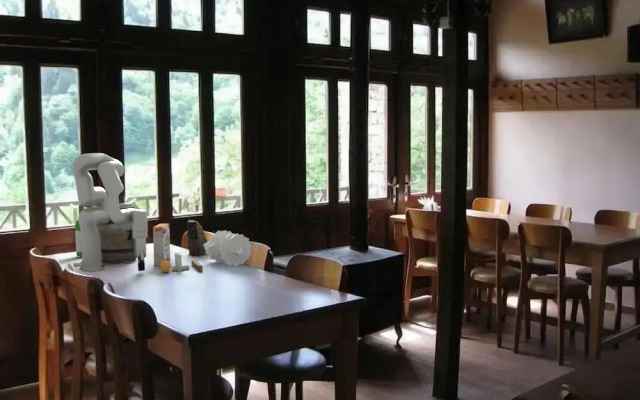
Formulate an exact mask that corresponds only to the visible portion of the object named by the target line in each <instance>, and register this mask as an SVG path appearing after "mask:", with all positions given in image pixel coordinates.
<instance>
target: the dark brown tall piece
mask: <svg viewBox="0 0 640 400" xmlns="http://www.w3.org/2000/svg"><path fill="white" fill-rule="evenodd" d="M186 225H187V226H186V228H187V235H186V236H187V249H188V254H189V255H188V256H192V257H198V258H199V257H200V258H202V257H203V256H208V255H207V254H206V253H205V252H206V251H205V248H204V245H203V244H205V243H207V242H209V241H208V240H207V237H206V234H205V231H204V229H203V227H202V225H201V224H200V223H199V222H198V221H196V220H193V219H192V220H191V219H189V220H187V221H186Z"/></svg>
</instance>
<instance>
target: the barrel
mask: <svg viewBox="0 0 640 400" xmlns="http://www.w3.org/2000/svg"><path fill="white" fill-rule="evenodd" d="M118 205H119V207H120V209H121V210H123V209H130V208H131V209H136V205H135V204H118ZM91 208H94V207H93V206H92V207H91ZM97 228H98V230H99V232H100V236H101V256H102V264H116V263H117V264H118V263H129V262H134V261H137V258H136V257H135V255H134V238H132V223H130V224H125V225H116V224H115V223H114V222H113V221H112V220H111V218H110V220H109V222H108V223H106V224H104V225H99V226H97Z"/></svg>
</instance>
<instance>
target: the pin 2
mask: <svg viewBox="0 0 640 400" xmlns="http://www.w3.org/2000/svg"><path fill="white" fill-rule="evenodd" d="M182 263H183V261H182V254H181V253H180V254H177V271H176V272H179V273H180V272H182V271H183V270H182V265H183V264H182Z"/></svg>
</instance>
